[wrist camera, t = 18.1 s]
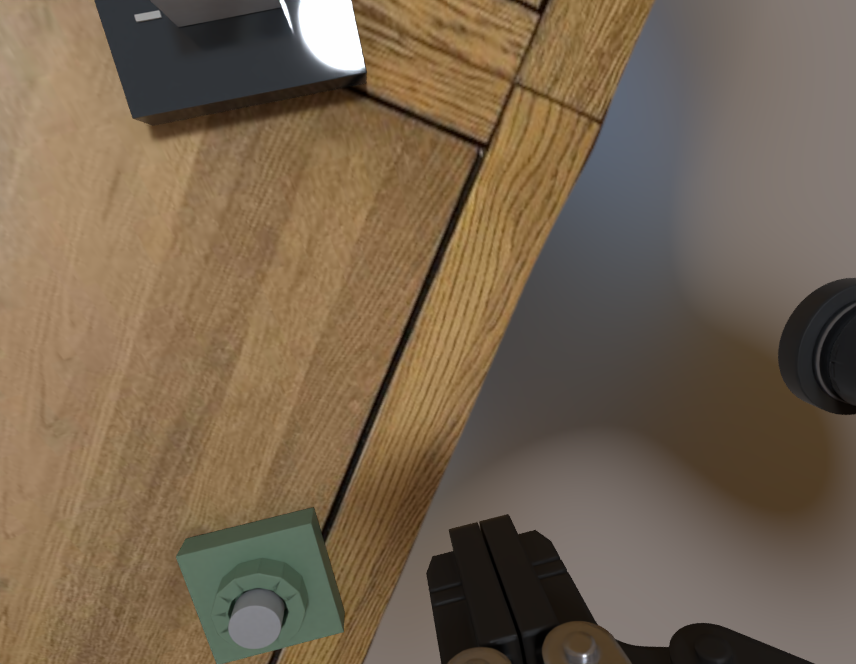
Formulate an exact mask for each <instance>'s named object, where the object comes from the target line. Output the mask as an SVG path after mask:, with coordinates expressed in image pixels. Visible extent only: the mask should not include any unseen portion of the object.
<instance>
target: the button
mask: <svg viewBox="0 0 856 664" xmlns="http://www.w3.org/2000/svg"><path fill="white" fill-rule="evenodd" d="M284 610H285V609H284V603H283V601H282V599H281V598H280V597H279V596H278V595H277V594H276V593H275V592H273V591H270V590H267V589H252V590H249V591H247V592H245V593H244V594H242V595H241V596H240V597H239V598H238V599H237V601H236V603H235V605H234V608H233V611H232V615H231V618H230V621H229V624H228V631H229V634H230V637H231V638H232V640H233V641H234V642H235V643H236V644H238V645H240V646H242V647H244V648H248V649H259V648H263V647H266V646H268V645H270V644H271V643H273V642H274V641H275V640H276V639H277V637H278V636H279V634H280V631H281V626H282V621H283V616H284Z"/></svg>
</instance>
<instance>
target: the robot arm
mask: <svg viewBox="0 0 856 664" xmlns="http://www.w3.org/2000/svg"><path fill="white" fill-rule="evenodd" d="M812 368H813V373H814V377H815V379H816V382H817V383H818V385H819V387H820V388H821V389H822V390H823V391H824V392H825V393H826V394H827V395H829V396H830V397H832V398H834V399H836V400H839V401H841V402H844V403H848V404H852V405H854V406H856V300H855V301H852V302H850V303H848V304H847V305H845V306H843V307H842V308H841V309H839V310H838V311H837V312H836V313H835V314H833V315H832V316H831V318H830V319H829V320H828V321H827V322H826V324H825V325H824V326H823V328H822V330H821V331H820V333H819V335H818V337H817V340H816V342H815V345H814V349H813V355H812ZM479 523H480V528H479V525H478V523H477V522H476V523H472V524H468V525H464V526H460V527H456V528H452V529H449V533H450V538H451V542H452V546H453V551H452V552H448V553H444V554H440V555H437V556H433V557H432V560H431V562H430V565H429V568H428V570H427V573H426V574H427V580H428V586H429V591H430V598H431V604H432V610H433V616H434V622H435V628H436V634H437V640H438V645H439V652H440V658H441V664H814V663H811V662H809V661H807V660H804V659H802V658H799V657H797V656H794V655H792V654H790V653H787V652H785V651H782V650H780V649H777V648H775V647H772V646H770V645H767V644H765V643H762V642H760V641H757V640H755V639H752V638H750V637H748V636H745V635H743V634H740V633H738V632H735V631H733V630H730V629H728V628H725V627H722V626H720V625H715V624H709V623H696V624H690V625H687V626H684V627H683V628H681V629H679V630H678V631H677V632H676V633H675V634H674V635H673V636H672V638H671V641H670V645H669V647H644V646H635V645H630V644H626V643H623V642H621V641H618V640H616V639H615V638H614V637H613V636H612V634H610V633H609V632H608V631H607V630H606V629H604V628H602V627H601V626H599V625H598V624H597V623H596V621H595V620H594V618H593V616H592V614H591V613H590V611H589V609H588V607H587V605H586V603H585V602H584V600H583V598H582V596H581V595H580V593H579V591H578V589H577V587H576V585H575V584H574V582H573V580H572V578H571V576H570V575H569V573H568V572H567V569H566V567H565V566H564V564H563V562H562V560H560V557H559V555H558V553H557V551H556V549H555V548H554V546H553V544H552V542H551V541H550V540H549V539H547V538H546V537H544V536H543V535H542V534H540V533H539V532H537V531H536V530H534V531H529V532H526V533H522V534H518V533H517V531H516V529H515V527H514V525H513V523H512V520H511V518H510V516H509V515H508V514H507V515H503V516H499V517H495V518H491V519H487V520H483V521H480V522H479ZM480 529H481V530H480Z"/></svg>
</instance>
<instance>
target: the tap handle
mask: <svg viewBox="0 0 856 664" xmlns="http://www.w3.org/2000/svg"><path fill="white" fill-rule="evenodd" d="M150 1H151V2H152V3H153V4H154V5H155V6H156V7H157V8H158V9H159V10H160V11H162V12H163V13H164V14H165V15H166V16H167V17H168V18H169V19H170V20H171V21H172V22H173V23H174V24H175V25H176V26H177V27H183V26H188V25H193V24H198V23H203V22H208V21H213V20H218V19H224V18H229V17H234V16H239V15H244V14H249V13H254V12H259V11H264V10H270V9H275V8H280V7H282V5H281V1H280V0H150Z"/></svg>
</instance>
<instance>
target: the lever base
mask: <svg viewBox="0 0 856 664" xmlns="http://www.w3.org/2000/svg"><path fill="white" fill-rule="evenodd" d="M94 1H95V4H96V7H97V10H98V13H99V16H100V19H101V22H102V25H103V28H104V31H105V35H106V38H107V41H108V44H109V47H110V50H111V53H112V56H113V59H114V62H115V65H116V68H117V72H118V75H119V78H120V81H121V84H122V87H123V90H124V93H125V96H126V99H127V102H128V105H129V109H130V112H131V115H132V118H133V119H136V120H138V121H141V122H144V123H146V124H149V125H152V126H154V125H159V124H164V123H169V122H174V121H179V120H184V119H189V118H194V117H199V116H204V115H209V114H214V113H219V112H225V111H230V110H235V109H240V108H245V107H250V106H255V105H260V104H265V103H270V102H275V101H280V100H285V99H290V98H295V97H300V96H305V95H310V94H315V93H321V92H326V91H331V90H336V89H341V88H346V87H351V86H356V85H361V84H366V83H367V70H366V66H365V61H364V57H363V52H362V47H361V43H360V38H359V33H358V29H357V24H356V19H355V15H354V10H353V5H352V1H351V0H280V1H281V5H282V7H280V8H275V9H270V10H264V11H259V12H254V13H249V14H244V15H239V16H234V17H229V18H224V19H218V20H213V21H208V22H203V23H198V24H193V25H188V26H183V27H177V26H176V25H175V24H174V23H173V22H172V21H171V20H170V19H169V18H168V17H167V16H166V15H165V14H164V13H163V12H162V11H160V10H159V9H158V8H157V7H156V6H155V5H154V4H153V3H152V2H151V1H150V0H94Z"/></svg>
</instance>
